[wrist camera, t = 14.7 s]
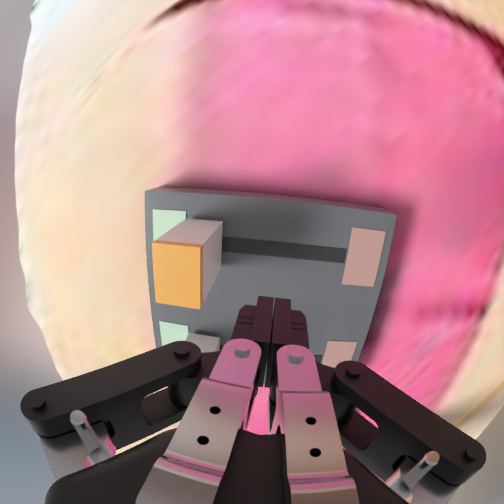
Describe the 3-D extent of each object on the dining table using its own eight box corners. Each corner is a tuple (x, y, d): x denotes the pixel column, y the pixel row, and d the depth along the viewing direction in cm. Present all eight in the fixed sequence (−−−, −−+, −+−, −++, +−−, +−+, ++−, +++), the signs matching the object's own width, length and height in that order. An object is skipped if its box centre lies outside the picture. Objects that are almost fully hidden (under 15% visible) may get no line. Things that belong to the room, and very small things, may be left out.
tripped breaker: (222, 221, 22) (200, 247, 16) (220, 268, 23) (200, 309, 17) (186, 218, 22) (151, 242, 16) (186, 264, 23) (155, 302, 17)
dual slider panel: (384, 208, 24) (397, 215, 21) (343, 369, 30) (347, 387, 27) (158, 186, 25) (144, 191, 22) (167, 350, 31) (158, 367, 28)
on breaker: (219, 337, 25) (203, 386, 19) (219, 367, 27) (205, 416, 21) (188, 332, 26) (166, 379, 19) (191, 363, 27) (172, 409, 21)
